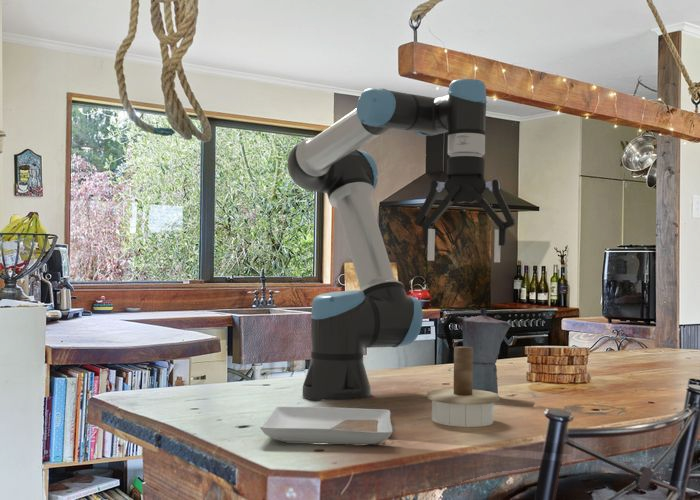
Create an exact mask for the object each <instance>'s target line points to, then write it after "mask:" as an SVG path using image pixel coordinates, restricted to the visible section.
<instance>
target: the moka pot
mask: <svg viewBox="0 0 700 500" xmlns="http://www.w3.org/2000/svg"><path fill="white" fill-rule="evenodd" d="M479 311H480V315H477V316H471V317H463V316H461V317H459V316H456V315H452V314H451V316H449V318H448V319H446V321H445V322H444V323H443V325H442V326H443V333H444V335H445V339H446V343H447V346H448V350H449V353H450V356H452V357H454V347H455V346H454V345H453V339H452V335H451V331H450V330H451V329H450V326H451V324H454V325H456V326H461V330H462V347H473V377H472V389H474V390H483V391H489V392H493V393H496V394H498V395H499V388H498V387H499V386H498V372H497V371H498V369H497V365H496V363H497V359H498V356H499V354H500V350H501V344H502V343H503V341H504V340H505V339H504V338H505V337H506V335H507V332H508V331H509V329H510V328H511V327H512V326H513V325H512V324H511V323H509V322H508V321H505V320H500V319H496V318H493V317H490V316H487V312H488V309H487V308H484V307H483V308H480V310H479Z"/></svg>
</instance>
